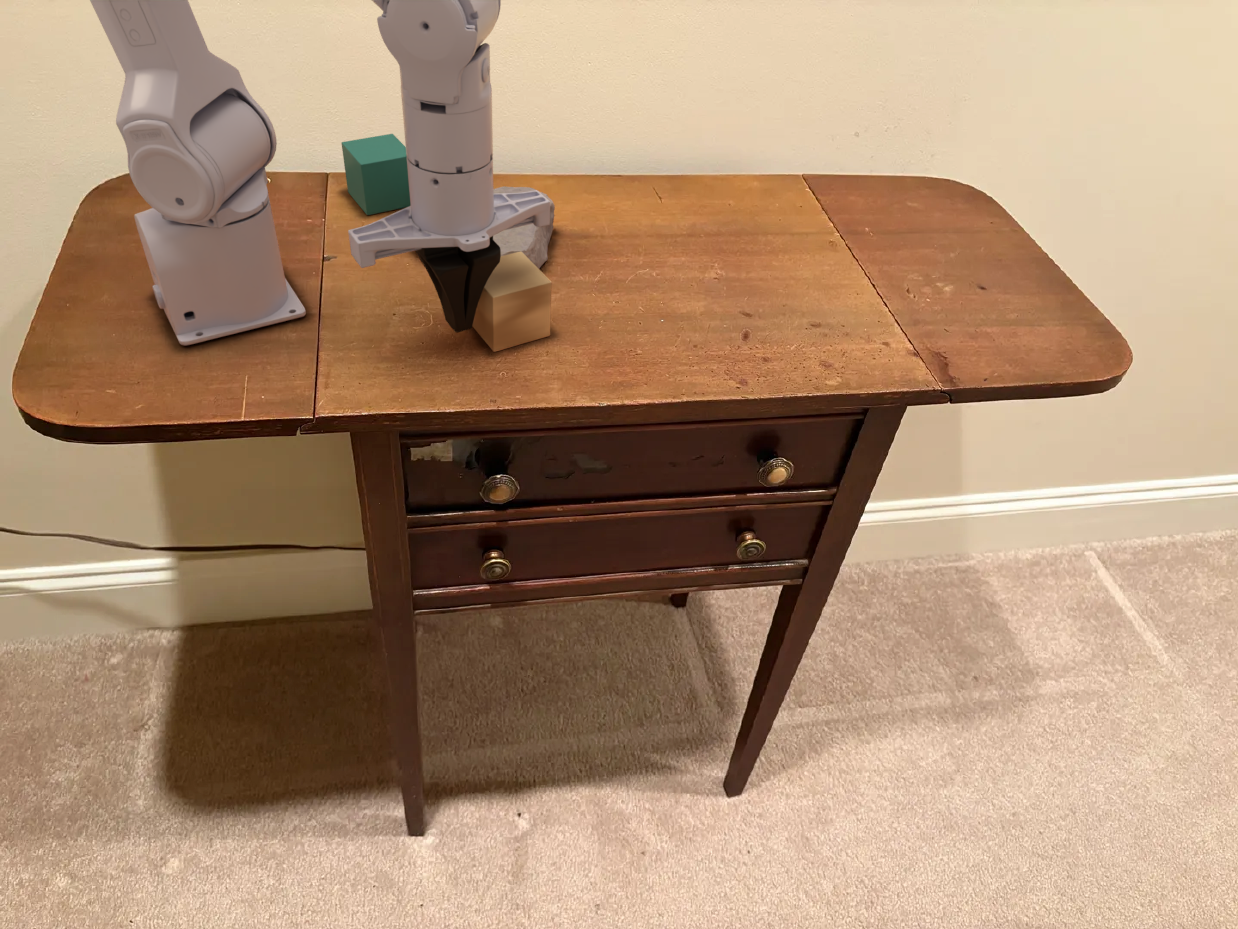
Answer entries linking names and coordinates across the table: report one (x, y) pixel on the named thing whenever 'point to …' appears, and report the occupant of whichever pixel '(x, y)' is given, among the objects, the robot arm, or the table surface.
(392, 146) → the teal block
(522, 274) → the maple block
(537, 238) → the stone block
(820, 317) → the table surface
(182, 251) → the robot arm
